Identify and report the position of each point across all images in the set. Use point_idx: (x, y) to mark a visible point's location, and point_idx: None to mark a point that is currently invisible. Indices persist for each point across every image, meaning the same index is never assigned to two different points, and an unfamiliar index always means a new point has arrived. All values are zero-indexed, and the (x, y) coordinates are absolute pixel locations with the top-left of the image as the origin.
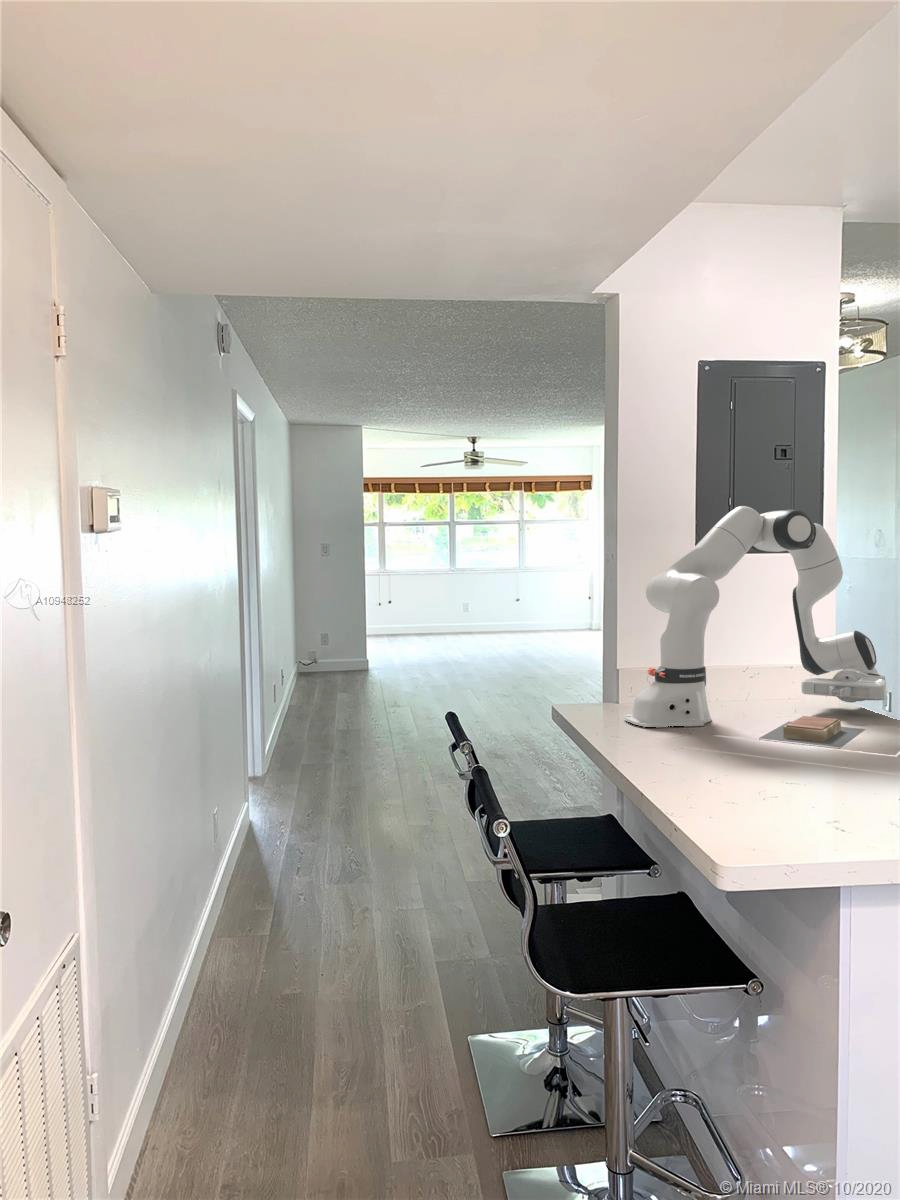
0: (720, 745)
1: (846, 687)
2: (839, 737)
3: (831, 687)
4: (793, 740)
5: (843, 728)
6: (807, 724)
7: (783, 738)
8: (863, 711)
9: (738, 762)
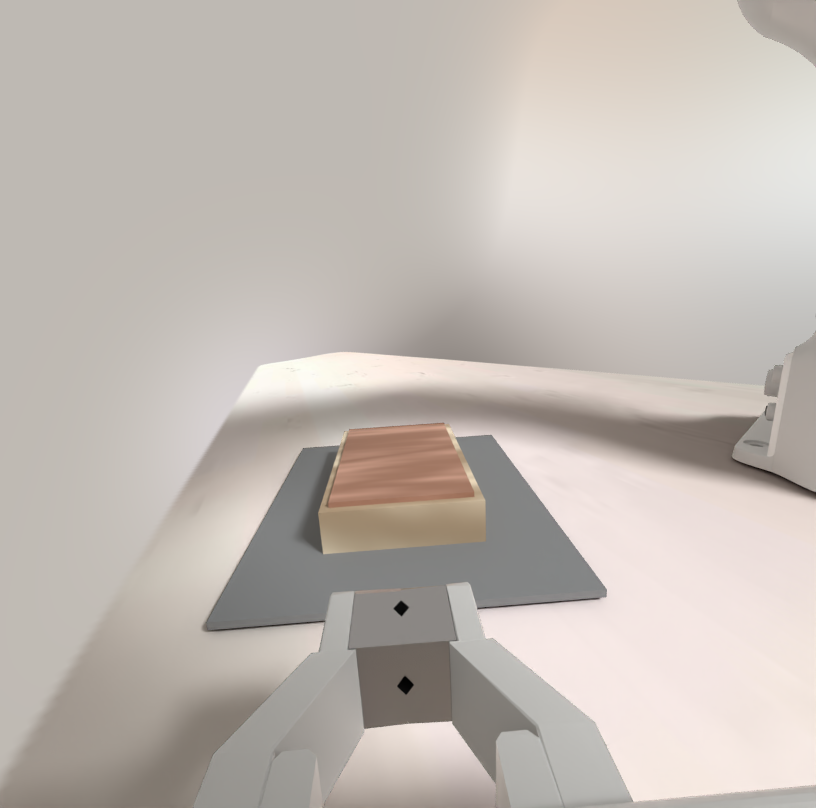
0: (520, 412)
1: (279, 764)
2: (315, 492)
3: (516, 674)
4: None
5: (315, 585)
6: (400, 438)
7: None
8: None
9: (434, 393)
